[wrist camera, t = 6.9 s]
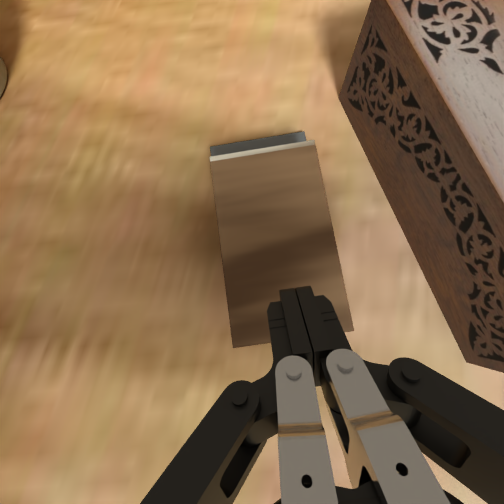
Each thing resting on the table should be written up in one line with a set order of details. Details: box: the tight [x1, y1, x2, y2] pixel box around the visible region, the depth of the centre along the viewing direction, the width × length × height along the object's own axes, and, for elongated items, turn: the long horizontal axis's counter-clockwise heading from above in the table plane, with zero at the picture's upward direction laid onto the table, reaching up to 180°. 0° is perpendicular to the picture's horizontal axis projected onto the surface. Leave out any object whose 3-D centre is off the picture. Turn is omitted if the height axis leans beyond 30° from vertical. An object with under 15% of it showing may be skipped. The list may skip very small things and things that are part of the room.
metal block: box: [210, 140, 354, 348], centre depth 22 cm, size 4×8×14 cm
